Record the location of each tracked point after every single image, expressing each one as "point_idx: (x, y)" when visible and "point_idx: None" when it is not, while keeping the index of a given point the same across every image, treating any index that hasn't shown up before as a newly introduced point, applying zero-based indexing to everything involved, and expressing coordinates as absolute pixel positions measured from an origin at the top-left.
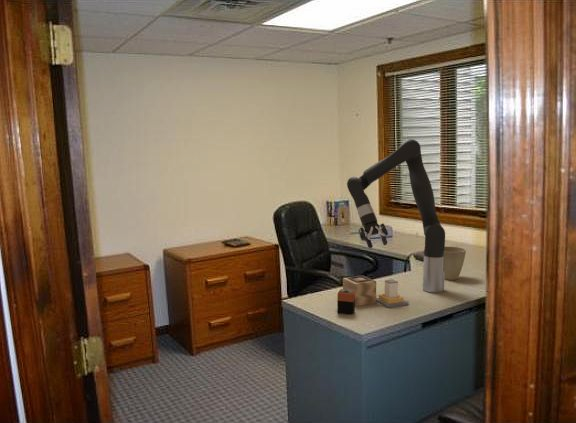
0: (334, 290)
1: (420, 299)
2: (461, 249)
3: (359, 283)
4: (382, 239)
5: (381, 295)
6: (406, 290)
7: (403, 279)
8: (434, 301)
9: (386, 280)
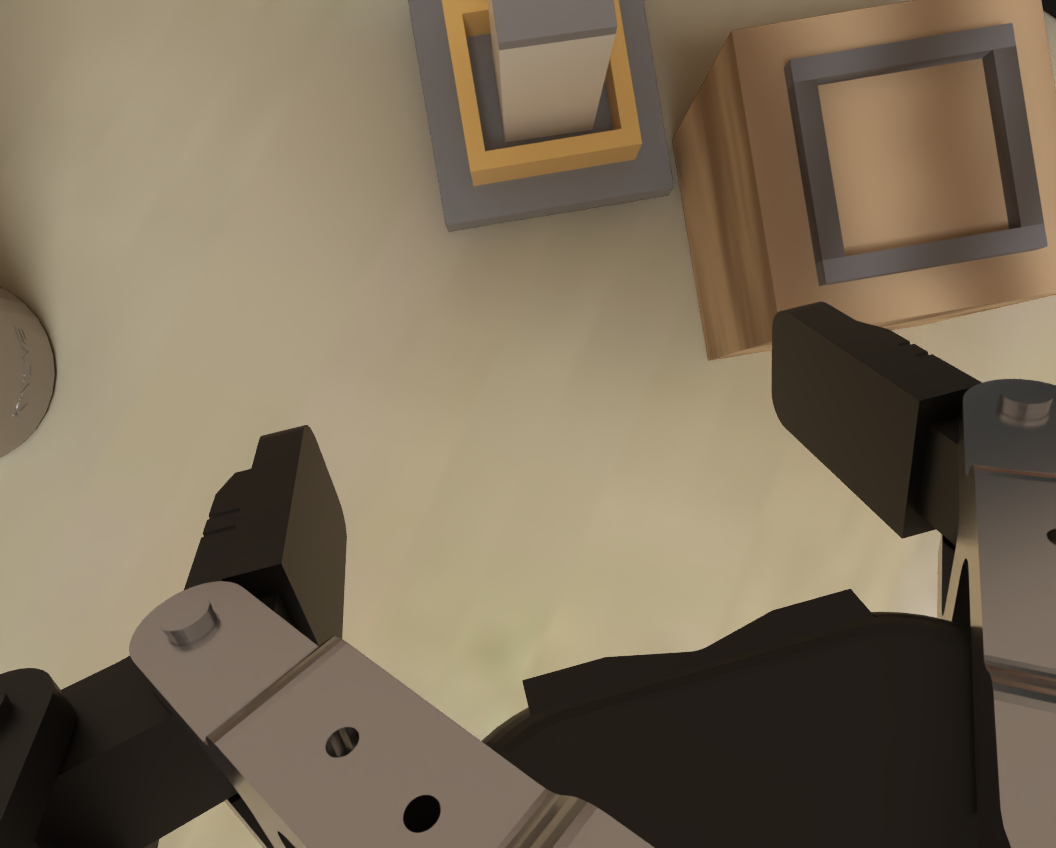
0: (908, 608)
1: (227, 129)
2: None
3: None
4: (326, 608)
5: (628, 112)
6: (219, 429)
7: None
8: (131, 41)
9: (600, 10)
